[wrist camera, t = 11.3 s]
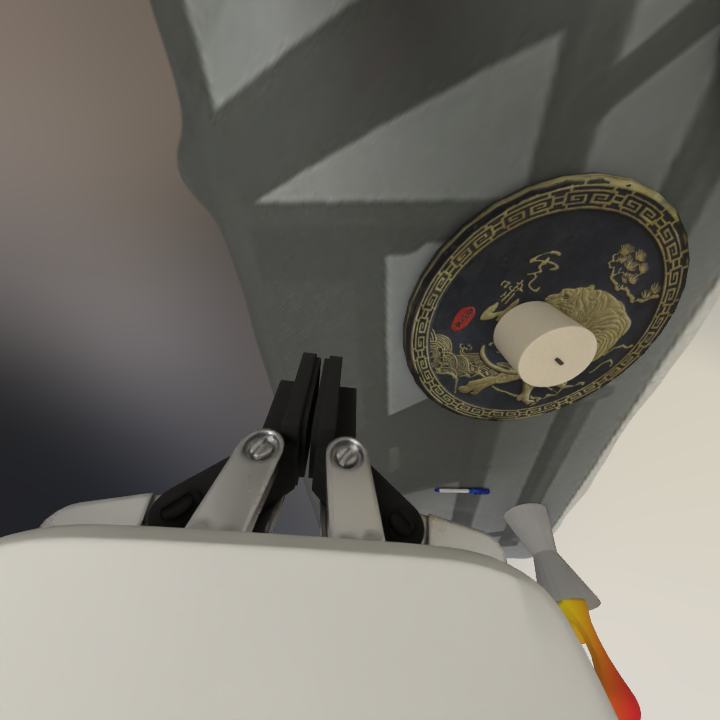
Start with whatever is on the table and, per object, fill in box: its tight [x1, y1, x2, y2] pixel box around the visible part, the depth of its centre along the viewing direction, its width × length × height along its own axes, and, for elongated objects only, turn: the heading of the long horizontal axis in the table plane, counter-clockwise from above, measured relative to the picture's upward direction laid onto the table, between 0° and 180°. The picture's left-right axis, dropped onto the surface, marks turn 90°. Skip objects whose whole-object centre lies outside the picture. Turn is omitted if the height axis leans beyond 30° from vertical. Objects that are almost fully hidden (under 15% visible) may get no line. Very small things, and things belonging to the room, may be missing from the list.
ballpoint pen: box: [435, 489, 490, 494], centre depth 51 cm, size 10×1×1 cm, turn 90°
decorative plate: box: [403, 173, 690, 421], centre depth 32 cm, size 30×2×30 cm
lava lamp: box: [504, 503, 641, 720], centre depth 43 cm, size 9×9×35 cm
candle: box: [494, 301, 597, 387], centre depth 28 cm, size 7×7×7 cm
